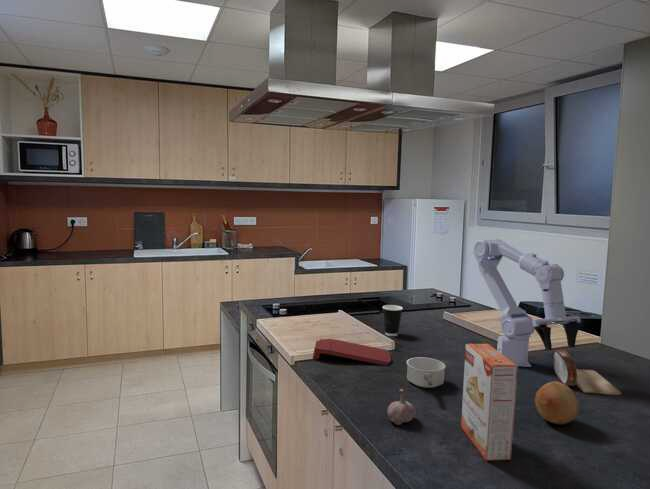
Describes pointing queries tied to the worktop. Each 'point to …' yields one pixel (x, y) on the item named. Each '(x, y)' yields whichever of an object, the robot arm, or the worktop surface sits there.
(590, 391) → the oak board
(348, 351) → the red flat block
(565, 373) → the tin
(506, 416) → the cracker box
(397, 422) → the garlic bulb
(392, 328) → the dixie cup
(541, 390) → the onion
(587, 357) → the worktop surface
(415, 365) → the white ceramic ramekin
